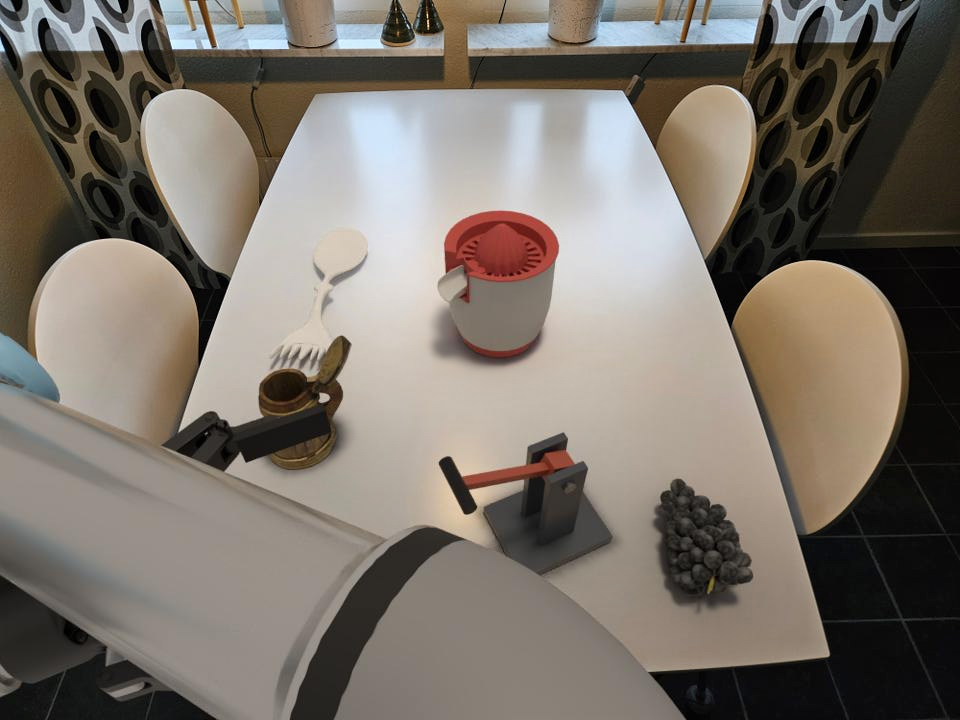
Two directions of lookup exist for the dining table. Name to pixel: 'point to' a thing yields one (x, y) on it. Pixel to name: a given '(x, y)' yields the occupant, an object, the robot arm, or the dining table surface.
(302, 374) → the wooden mug
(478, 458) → the dining table surface
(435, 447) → the dining table surface
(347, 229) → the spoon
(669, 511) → the fruit
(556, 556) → the bracket
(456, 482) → the lever
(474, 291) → the citrus juicer
